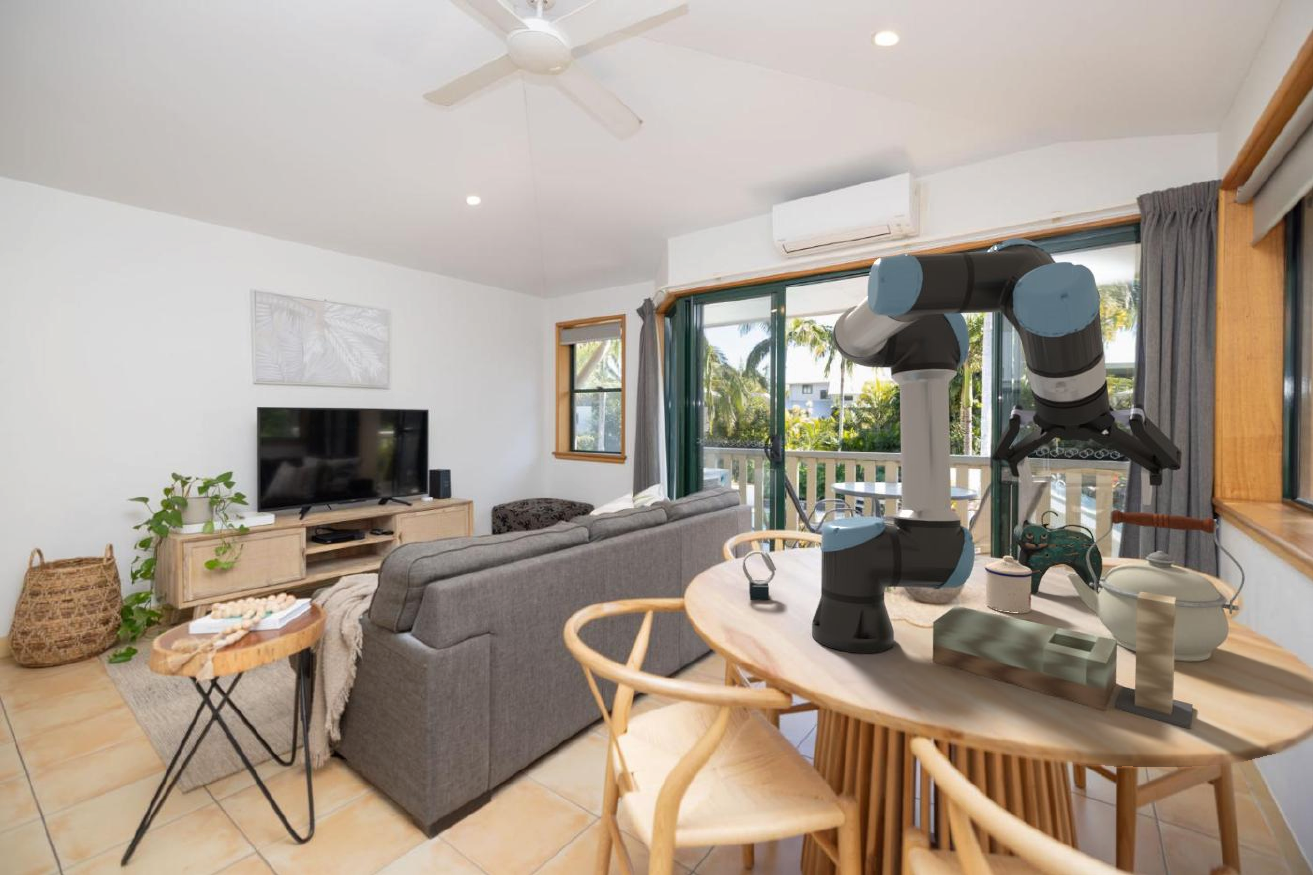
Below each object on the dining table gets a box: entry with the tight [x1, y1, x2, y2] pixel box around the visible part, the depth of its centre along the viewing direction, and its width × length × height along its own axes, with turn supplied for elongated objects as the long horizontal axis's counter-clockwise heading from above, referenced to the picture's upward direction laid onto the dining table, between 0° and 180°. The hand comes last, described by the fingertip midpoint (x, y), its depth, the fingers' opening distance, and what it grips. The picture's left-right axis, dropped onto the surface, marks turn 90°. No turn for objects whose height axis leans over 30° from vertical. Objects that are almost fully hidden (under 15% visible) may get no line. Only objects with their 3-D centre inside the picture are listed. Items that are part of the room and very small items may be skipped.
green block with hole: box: [932, 605, 1118, 711], centre depth 95 cm, size 24×12×7 cm, turn 45°
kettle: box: [1066, 509, 1246, 663], centre depth 106 cm, size 25×18×25 cm
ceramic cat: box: [1012, 510, 1103, 594], centre depth 139 cm, size 20×6×20 cm, turn 88°
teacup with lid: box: [984, 555, 1033, 614], centre depth 128 cm, size 12×9×12 cm
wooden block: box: [1134, 592, 1176, 714], centre depth 83 cm, size 4×4×16 cm
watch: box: [742, 549, 777, 601], centre depth 136 cm, size 6×8×11 cm
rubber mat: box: [1115, 686, 1193, 730], centre depth 83 cm, size 8×8×1 cm
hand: (1084, 492), depth 80 cm, fingers open, 13 cm apart
